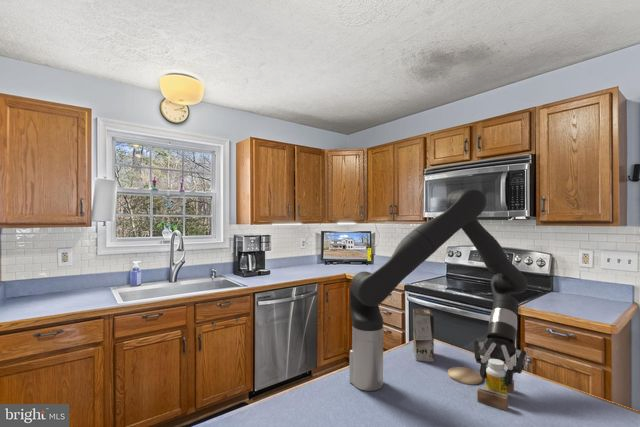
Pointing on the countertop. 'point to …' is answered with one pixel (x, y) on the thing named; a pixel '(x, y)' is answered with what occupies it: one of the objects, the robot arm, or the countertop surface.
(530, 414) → the countertop surface
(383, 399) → the countertop surface
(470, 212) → the robot arm
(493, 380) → the supplement bottle
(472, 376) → the trivet
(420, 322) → the coffee box
